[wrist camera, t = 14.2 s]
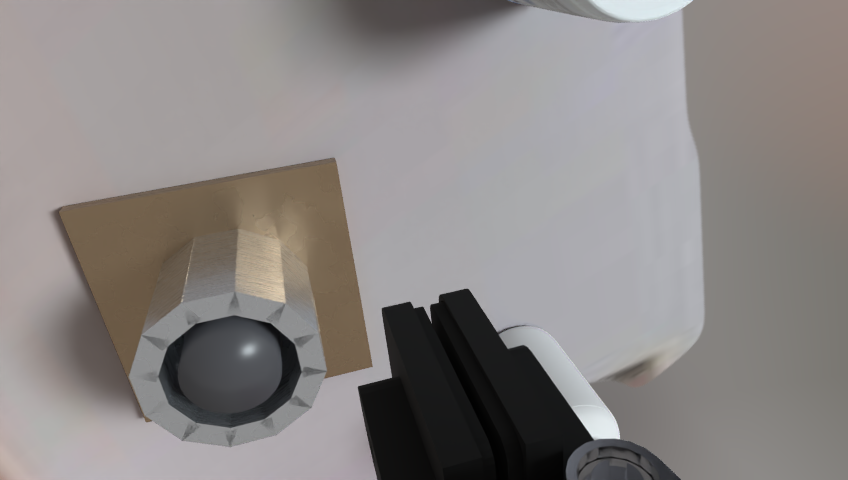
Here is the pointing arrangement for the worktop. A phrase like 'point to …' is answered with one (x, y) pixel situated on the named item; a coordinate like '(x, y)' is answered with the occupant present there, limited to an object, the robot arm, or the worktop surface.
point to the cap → (230, 364)
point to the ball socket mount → (226, 287)
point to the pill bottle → (566, 379)
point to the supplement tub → (611, 8)
